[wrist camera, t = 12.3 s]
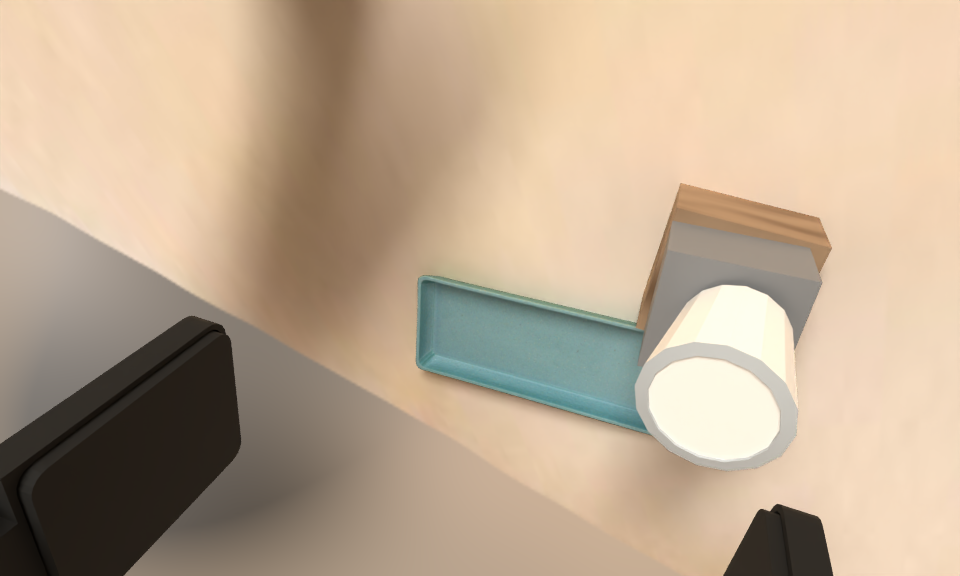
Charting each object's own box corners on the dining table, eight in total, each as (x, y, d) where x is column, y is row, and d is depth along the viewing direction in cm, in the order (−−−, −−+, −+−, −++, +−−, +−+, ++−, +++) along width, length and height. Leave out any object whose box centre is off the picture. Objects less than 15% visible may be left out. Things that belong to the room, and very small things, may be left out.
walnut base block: (680, 182, 39) (676, 207, 35) (818, 217, 37) (831, 247, 33) (643, 293, 43) (635, 327, 39) (765, 329, 42) (771, 369, 37)
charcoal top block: (672, 220, 35) (667, 250, 32) (810, 247, 34) (822, 282, 30) (644, 327, 39) (637, 365, 35) (767, 357, 37) (773, 401, 33)
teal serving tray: (424, 356, 53) (412, 371, 51) (428, 263, 49) (415, 276, 47) (736, 440, 47) (737, 462, 45) (773, 341, 42) (776, 360, 40)
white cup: (817, 386, 31) (811, 478, 26) (682, 387, 35) (652, 468, 30) (795, 265, 29) (783, 338, 24) (654, 281, 33) (616, 347, 27)
